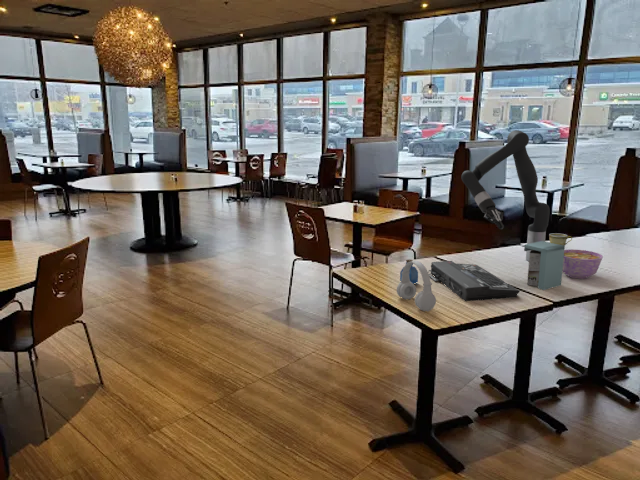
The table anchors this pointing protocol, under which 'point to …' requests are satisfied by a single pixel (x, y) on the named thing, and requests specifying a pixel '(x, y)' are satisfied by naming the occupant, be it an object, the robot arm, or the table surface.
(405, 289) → the headphones
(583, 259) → the bowl of food
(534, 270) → the coffee box
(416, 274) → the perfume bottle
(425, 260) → the table surface
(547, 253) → the bracket
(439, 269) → the vintage computer
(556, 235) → the ceramic cup
